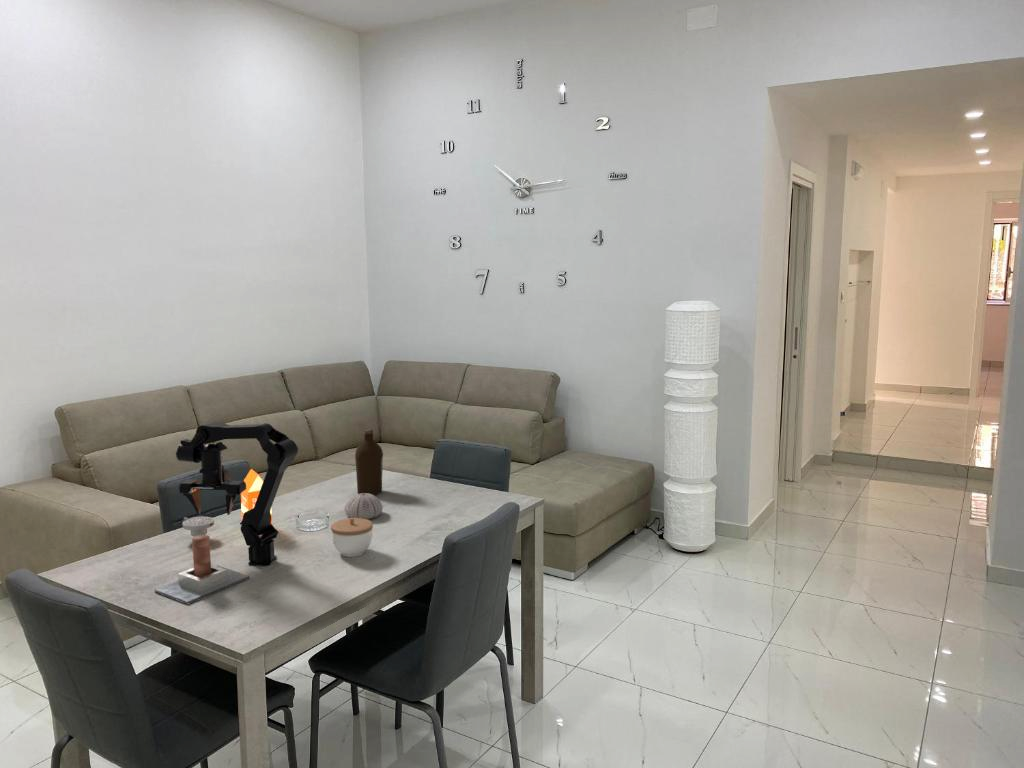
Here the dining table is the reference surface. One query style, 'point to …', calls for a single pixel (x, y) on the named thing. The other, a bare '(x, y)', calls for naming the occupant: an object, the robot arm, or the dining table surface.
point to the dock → (201, 584)
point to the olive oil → (369, 465)
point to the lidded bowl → (352, 536)
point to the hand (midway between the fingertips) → (214, 514)
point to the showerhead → (198, 525)
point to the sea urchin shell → (363, 506)
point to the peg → (201, 555)
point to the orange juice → (251, 492)
